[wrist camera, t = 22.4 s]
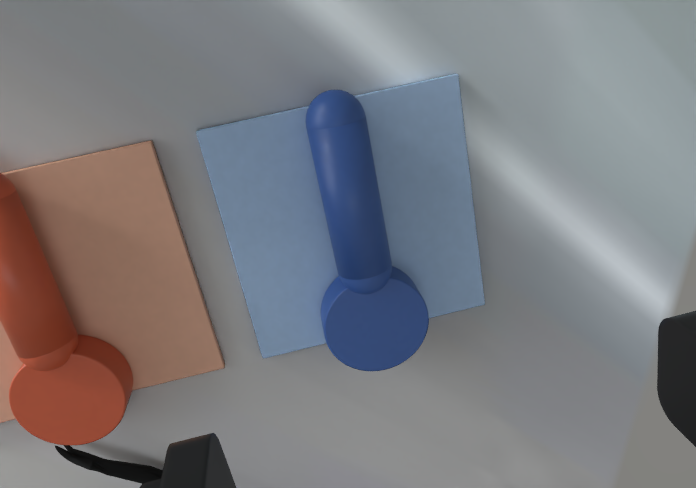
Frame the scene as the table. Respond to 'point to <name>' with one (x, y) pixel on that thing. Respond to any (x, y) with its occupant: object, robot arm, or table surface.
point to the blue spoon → (360, 245)
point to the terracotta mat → (117, 264)
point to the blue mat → (309, 217)
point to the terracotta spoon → (53, 344)
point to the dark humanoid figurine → (111, 466)
